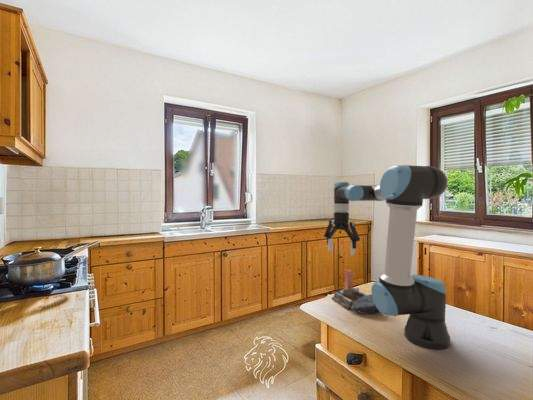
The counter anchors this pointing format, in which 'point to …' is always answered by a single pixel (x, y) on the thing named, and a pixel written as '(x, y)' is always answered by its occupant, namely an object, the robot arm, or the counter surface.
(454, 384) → the counter surface
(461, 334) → the counter surface
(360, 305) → the rock
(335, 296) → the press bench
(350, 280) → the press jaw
